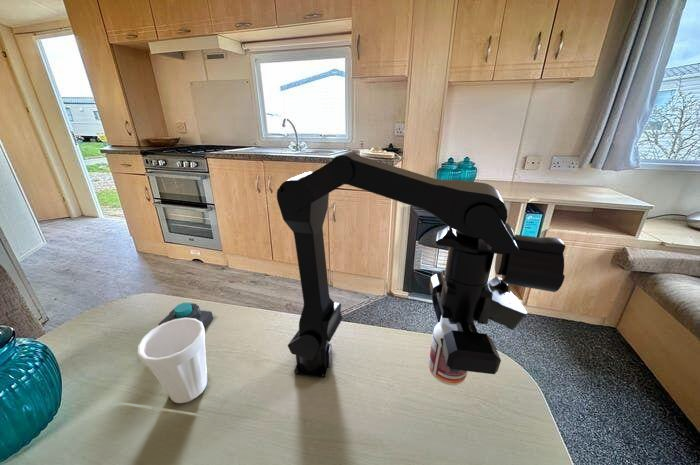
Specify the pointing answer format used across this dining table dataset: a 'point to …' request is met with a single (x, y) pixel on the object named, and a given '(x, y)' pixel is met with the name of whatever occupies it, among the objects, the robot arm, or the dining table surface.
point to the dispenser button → (183, 310)
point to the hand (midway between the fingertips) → (449, 355)
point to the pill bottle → (438, 359)
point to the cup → (177, 357)
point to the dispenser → (192, 315)
